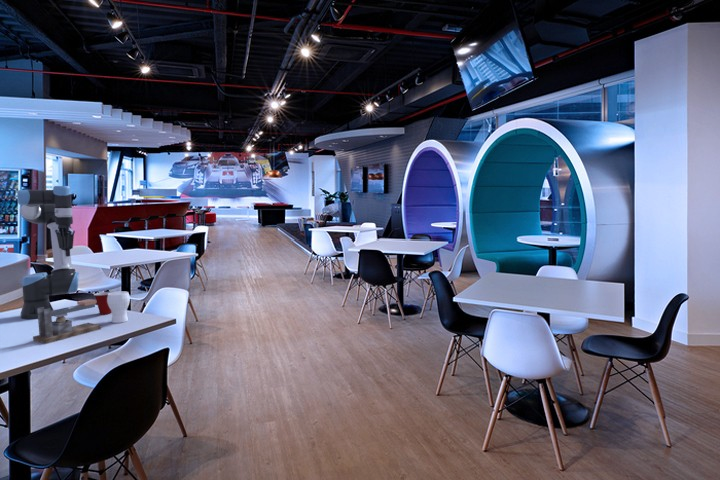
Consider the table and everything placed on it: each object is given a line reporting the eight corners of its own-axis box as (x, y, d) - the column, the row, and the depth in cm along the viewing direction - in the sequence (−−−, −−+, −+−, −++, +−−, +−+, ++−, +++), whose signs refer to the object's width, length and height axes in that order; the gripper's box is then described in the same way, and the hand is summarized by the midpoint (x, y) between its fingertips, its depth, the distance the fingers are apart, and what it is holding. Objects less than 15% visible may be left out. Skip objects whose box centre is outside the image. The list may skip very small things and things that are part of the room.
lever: (48, 320, 214) (48, 310, 214) (41, 318, 217) (40, 308, 217) (97, 309, 235) (96, 300, 234) (89, 308, 237) (89, 299, 237)
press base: (45, 343, 212) (43, 311, 210) (33, 340, 216) (30, 308, 215) (100, 329, 235) (98, 299, 233) (88, 326, 239) (86, 297, 238)
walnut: (54, 324, 222) (53, 316, 221) (62, 322, 225) (62, 314, 225) (59, 325, 220) (58, 317, 219) (68, 323, 223) (67, 315, 223)
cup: (104, 322, 247) (102, 294, 246) (122, 317, 257) (120, 290, 255) (117, 324, 242) (115, 296, 241) (135, 319, 252) (133, 292, 250)
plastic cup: (111, 310, 273) (110, 289, 272) (119, 312, 266) (118, 292, 265) (91, 313, 265) (90, 292, 264) (99, 316, 258) (98, 295, 257)
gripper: (48, 216, 238) (51, 262, 241) (64, 217, 232) (67, 264, 235) (63, 215, 245) (66, 260, 248) (79, 216, 239) (82, 262, 242)
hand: (66, 262), depth 241 cm, fingers closed
